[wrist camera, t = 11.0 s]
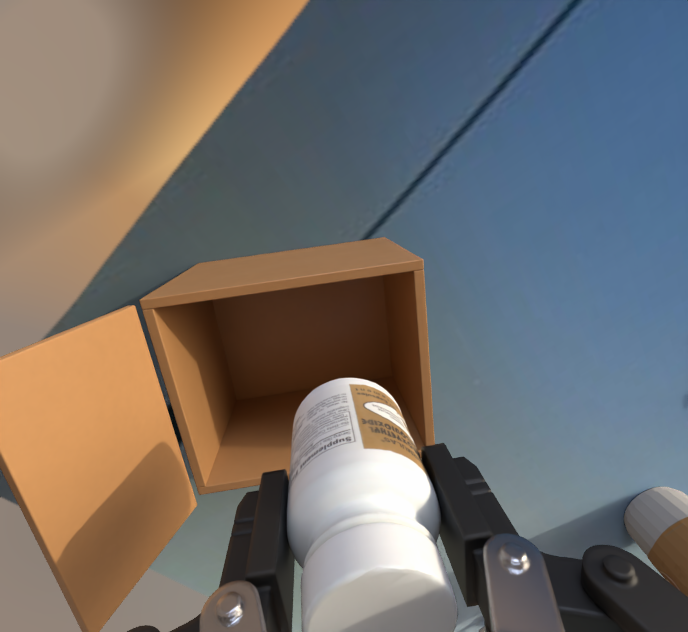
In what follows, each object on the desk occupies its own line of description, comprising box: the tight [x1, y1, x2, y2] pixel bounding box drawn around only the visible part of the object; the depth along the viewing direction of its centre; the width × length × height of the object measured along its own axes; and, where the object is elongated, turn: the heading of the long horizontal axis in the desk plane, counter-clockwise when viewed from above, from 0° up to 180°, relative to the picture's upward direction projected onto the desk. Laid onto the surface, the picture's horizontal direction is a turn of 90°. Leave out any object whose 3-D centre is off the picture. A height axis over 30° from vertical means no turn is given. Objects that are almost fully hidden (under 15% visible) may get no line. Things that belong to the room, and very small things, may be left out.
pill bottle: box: [287, 378, 458, 632], centre depth 12 cm, size 4×4×8 cm
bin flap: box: [0, 305, 197, 632], centre depth 15 cm, size 6×11×1 cm
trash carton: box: [139, 237, 435, 495], centre depth 24 cm, size 13×11×10 cm
